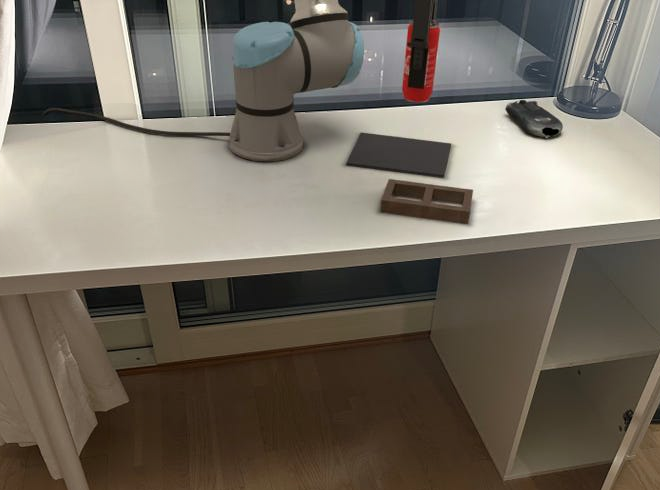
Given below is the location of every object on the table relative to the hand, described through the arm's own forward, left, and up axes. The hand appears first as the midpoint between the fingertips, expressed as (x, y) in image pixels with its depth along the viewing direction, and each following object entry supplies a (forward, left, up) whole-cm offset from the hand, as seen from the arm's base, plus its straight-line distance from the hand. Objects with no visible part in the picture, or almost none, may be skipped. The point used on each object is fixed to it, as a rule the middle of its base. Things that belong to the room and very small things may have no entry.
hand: (418, 81), depth 119 cm
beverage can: (0, 0, -3) cm, 3 cm away
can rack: (+4, -2, -22) cm, 23 cm away
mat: (-4, +19, -22) cm, 30 cm away
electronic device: (+24, +44, -22) cm, 55 cm away
